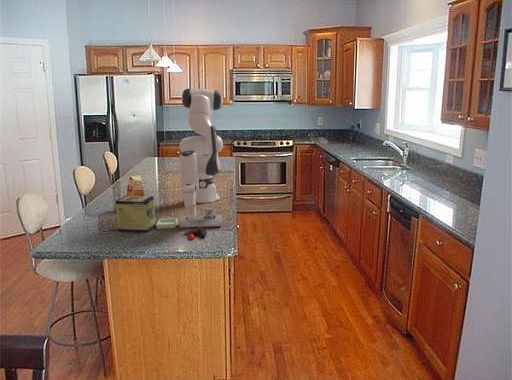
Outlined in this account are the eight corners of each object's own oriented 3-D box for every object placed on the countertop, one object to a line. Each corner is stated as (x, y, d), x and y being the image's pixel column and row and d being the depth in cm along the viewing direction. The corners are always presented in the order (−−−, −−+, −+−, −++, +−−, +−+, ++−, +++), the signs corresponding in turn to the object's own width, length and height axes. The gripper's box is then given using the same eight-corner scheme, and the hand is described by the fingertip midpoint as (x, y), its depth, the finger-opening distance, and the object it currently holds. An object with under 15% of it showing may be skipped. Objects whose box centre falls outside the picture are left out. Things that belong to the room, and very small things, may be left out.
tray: (160, 222, 224) (159, 218, 224) (177, 221, 224) (177, 218, 224) (156, 228, 214) (156, 224, 214) (175, 228, 215) (174, 224, 214)
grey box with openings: (181, 223, 222) (180, 207, 220) (221, 222, 222) (220, 205, 220) (178, 232, 208) (177, 214, 206) (220, 230, 209) (219, 213, 207)
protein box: (148, 232, 209) (145, 201, 205) (117, 231, 211) (114, 200, 208) (156, 226, 219) (154, 195, 215) (127, 225, 221) (124, 195, 218)
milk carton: (134, 210, 247) (131, 176, 243) (125, 208, 253) (122, 174, 249) (148, 207, 254) (145, 173, 249) (139, 204, 260) (136, 171, 255)
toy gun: (184, 233, 208) (184, 223, 206) (209, 234, 205) (208, 224, 204) (177, 240, 198) (176, 230, 197) (202, 241, 196) (202, 231, 195)
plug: (188, 217, 219) (187, 202, 217) (196, 217, 219) (195, 202, 217) (187, 220, 215) (186, 204, 213) (195, 219, 215) (194, 204, 213)
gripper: (185, 180, 223) (187, 206, 226) (180, 189, 203) (182, 217, 206) (198, 180, 223) (199, 206, 226) (194, 188, 203) (196, 217, 206)
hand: (191, 211), depth 216 cm, fingers closed on plug, 4 cm apart
